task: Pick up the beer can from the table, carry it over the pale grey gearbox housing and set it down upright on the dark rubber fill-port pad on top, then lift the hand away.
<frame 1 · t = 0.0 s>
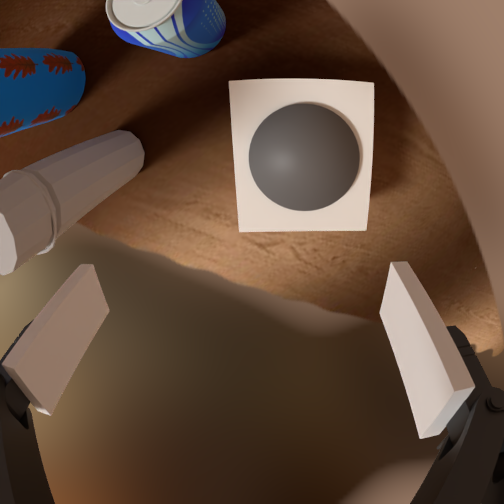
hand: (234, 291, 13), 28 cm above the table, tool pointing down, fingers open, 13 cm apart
beer can: (193, 28, 30), on the table
thermos: (58, 84, 33), on the table
water bottle: (119, 157, 38), on the table
gearbox: (298, 144, 36), on the table
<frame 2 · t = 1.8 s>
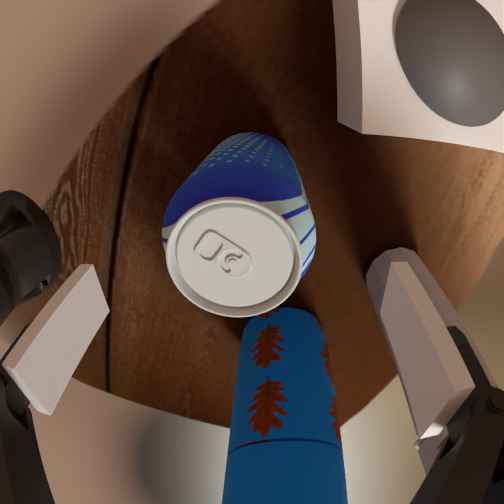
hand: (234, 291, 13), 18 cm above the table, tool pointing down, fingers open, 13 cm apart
beer can: (251, 173, 29), on the table
thermos: (283, 337, 39), on the table
water bottle: (394, 276, 33), on the table
gearbox: (416, 59, 21), on the table
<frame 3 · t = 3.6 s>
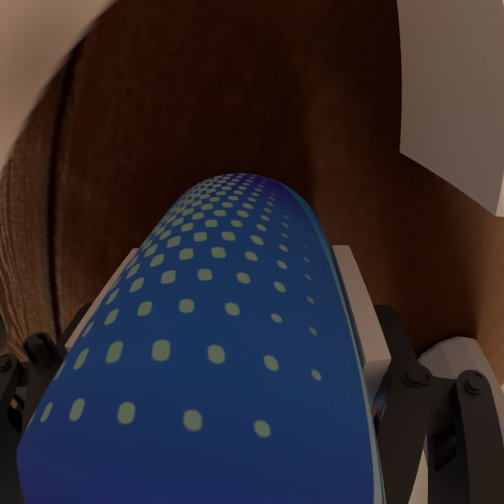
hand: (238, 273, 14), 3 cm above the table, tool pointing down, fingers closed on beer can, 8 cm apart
beer can: (244, 242, 17), on the table, touching gripper
water bottle: (441, 366, 21), on the table
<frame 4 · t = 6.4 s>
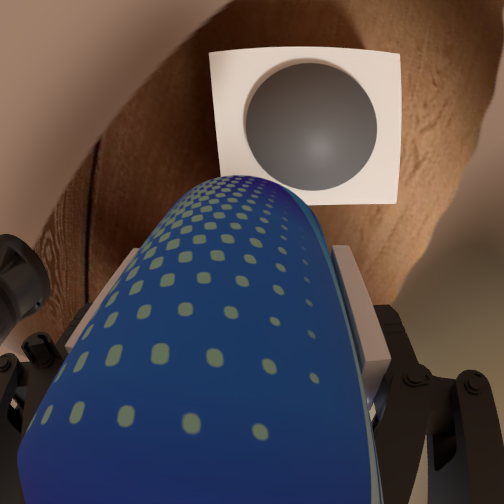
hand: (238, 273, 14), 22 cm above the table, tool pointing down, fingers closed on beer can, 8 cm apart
beer can: (243, 243, 17), point 19 cm above the table, touching gripper
gearbox: (302, 119, 31), on the table
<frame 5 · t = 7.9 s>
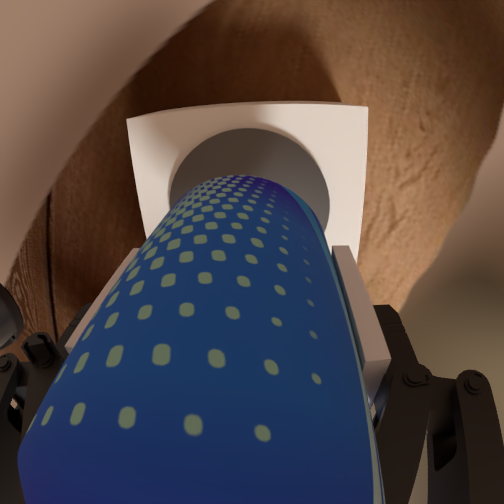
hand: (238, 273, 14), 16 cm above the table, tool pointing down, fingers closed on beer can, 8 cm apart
beer can: (244, 243, 17), point 13 cm above the table, touching gripper
gearbox: (254, 176, 28), on the table
when the fingers open (13 cm above the table, at t = 9.4 s): beer can drops 1 cm, resting on gearbox.
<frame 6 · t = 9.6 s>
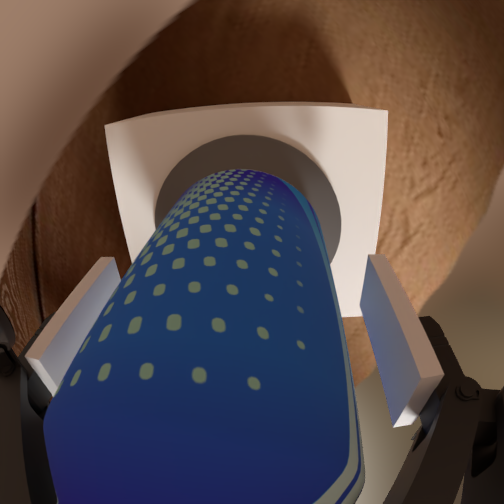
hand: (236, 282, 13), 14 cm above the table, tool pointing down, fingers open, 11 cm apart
beer can: (246, 232, 18), point 8 cm above the table, touching gearbox
gearbox: (254, 187, 25), on the table
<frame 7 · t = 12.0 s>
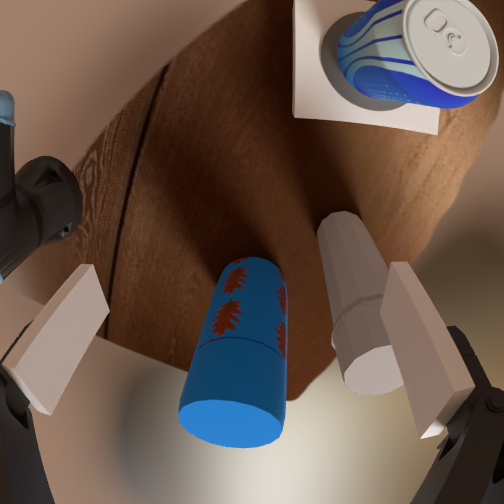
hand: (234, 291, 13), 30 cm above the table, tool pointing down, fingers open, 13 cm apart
beer can: (374, 60, 25), point 8 cm above the table, touching gearbox
thermos: (252, 284, 49), on the table
water bottle: (342, 236, 44), on the table
gearbox: (356, 66, 32), on the table
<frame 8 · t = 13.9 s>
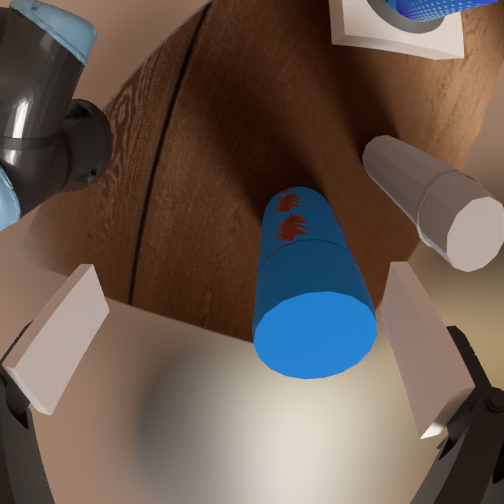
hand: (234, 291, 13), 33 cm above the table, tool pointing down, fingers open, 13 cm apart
thermos: (298, 219, 46), on the table
water bottle: (385, 163, 41), on the table
gearbox: (384, 7, 29), on the table
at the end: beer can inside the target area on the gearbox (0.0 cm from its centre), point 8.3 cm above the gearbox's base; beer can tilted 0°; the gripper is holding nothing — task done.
